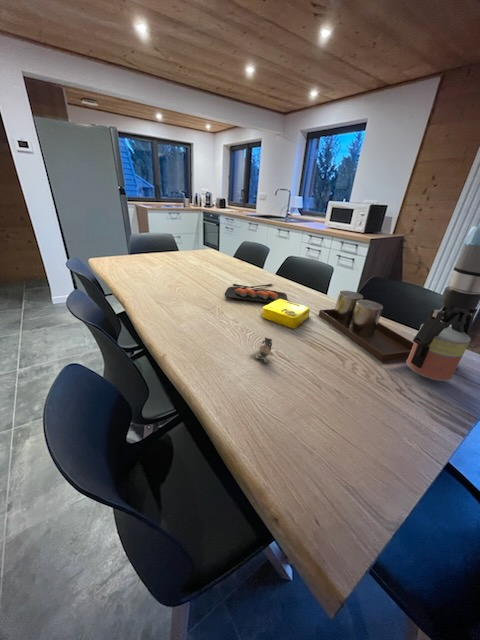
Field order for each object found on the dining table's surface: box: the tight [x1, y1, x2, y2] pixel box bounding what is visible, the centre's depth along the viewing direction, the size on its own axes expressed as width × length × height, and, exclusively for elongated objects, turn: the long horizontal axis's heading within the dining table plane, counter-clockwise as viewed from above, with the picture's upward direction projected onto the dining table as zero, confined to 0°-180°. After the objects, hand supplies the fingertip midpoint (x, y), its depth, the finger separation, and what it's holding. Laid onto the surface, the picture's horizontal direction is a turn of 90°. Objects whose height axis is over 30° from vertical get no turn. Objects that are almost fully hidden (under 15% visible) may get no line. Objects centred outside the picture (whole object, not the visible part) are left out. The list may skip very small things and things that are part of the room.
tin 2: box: [349, 299, 384, 337], centre depth 97 cm, size 9×9×11 cm
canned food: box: [405, 322, 472, 382], centre depth 74 cm, size 11×11×12 cm
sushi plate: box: [224, 283, 288, 304], centre depth 131 cm, size 29×30×4 cm
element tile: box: [261, 299, 311, 329], centre depth 107 cm, size 15×15×5 cm
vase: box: [252, 337, 273, 363], centre depth 79 cm, size 5×5×6 cm
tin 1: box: [333, 290, 364, 325], centre depth 106 cm, size 9×9×11 cm
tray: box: [318, 308, 414, 363], centre depth 98 cm, size 34×17×3 cm, turn 18°
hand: (431, 362), depth 75 cm, fingers closed on canned food, 11 cm apart
